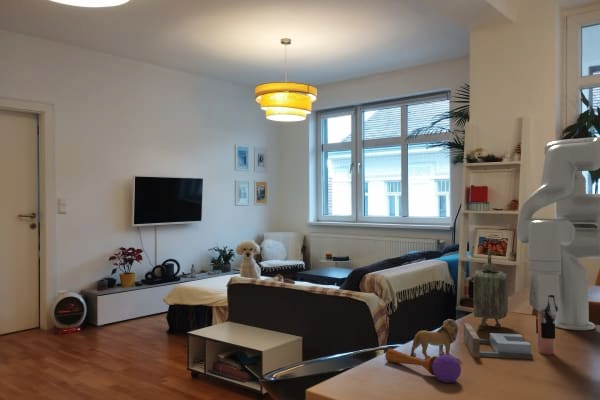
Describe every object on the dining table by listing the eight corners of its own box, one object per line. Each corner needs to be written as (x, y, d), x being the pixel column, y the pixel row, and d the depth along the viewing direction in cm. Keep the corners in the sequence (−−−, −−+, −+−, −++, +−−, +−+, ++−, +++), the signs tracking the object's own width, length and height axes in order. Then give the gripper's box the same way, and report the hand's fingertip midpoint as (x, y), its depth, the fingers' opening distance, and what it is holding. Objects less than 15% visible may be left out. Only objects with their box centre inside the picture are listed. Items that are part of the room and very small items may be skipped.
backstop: (463, 340, 136) (463, 323, 136) (517, 342, 133) (517, 325, 133) (473, 357, 120) (473, 338, 120) (534, 361, 117) (534, 341, 118)
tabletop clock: (478, 321, 159) (478, 246, 159) (508, 324, 155) (507, 247, 155) (473, 331, 146) (472, 250, 146) (505, 334, 142) (504, 251, 142)
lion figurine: (450, 349, 127) (449, 316, 127) (463, 355, 122) (463, 320, 122) (404, 356, 122) (403, 321, 122) (416, 362, 117) (415, 326, 117)
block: (489, 343, 132) (489, 333, 132) (520, 345, 130) (520, 334, 130) (497, 354, 122) (497, 343, 122) (531, 356, 120) (530, 344, 120)
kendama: (398, 343, 120) (466, 357, 104) (397, 367, 119) (465, 385, 103) (382, 342, 117) (450, 356, 101) (380, 367, 116) (448, 386, 100)
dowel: (536, 350, 126) (535, 305, 127) (550, 350, 126) (550, 305, 126) (540, 354, 123) (539, 308, 123) (555, 354, 122) (554, 308, 122)
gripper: (521, 262, 134) (521, 327, 133) (539, 270, 117) (540, 344, 117) (549, 263, 132) (550, 328, 132) (571, 271, 116) (572, 346, 116)
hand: (545, 335), depth 124 cm, fingers closed on dowel, 3 cm apart
